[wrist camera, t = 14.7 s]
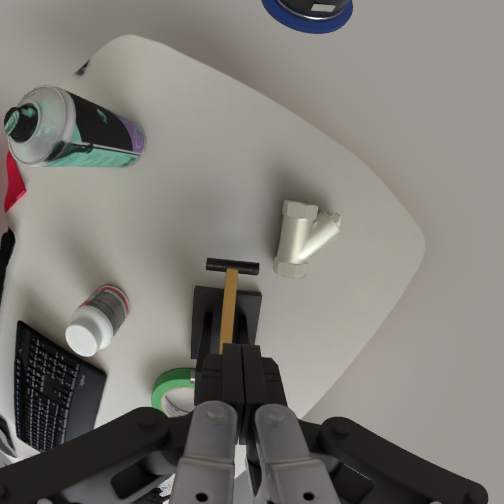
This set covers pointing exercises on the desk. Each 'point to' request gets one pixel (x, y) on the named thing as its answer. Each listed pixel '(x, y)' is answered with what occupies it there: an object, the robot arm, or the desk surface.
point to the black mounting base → (219, 325)
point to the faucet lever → (230, 291)
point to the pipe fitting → (303, 236)
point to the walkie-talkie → (151, 498)
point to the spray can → (70, 132)
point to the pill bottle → (97, 320)
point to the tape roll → (167, 384)
